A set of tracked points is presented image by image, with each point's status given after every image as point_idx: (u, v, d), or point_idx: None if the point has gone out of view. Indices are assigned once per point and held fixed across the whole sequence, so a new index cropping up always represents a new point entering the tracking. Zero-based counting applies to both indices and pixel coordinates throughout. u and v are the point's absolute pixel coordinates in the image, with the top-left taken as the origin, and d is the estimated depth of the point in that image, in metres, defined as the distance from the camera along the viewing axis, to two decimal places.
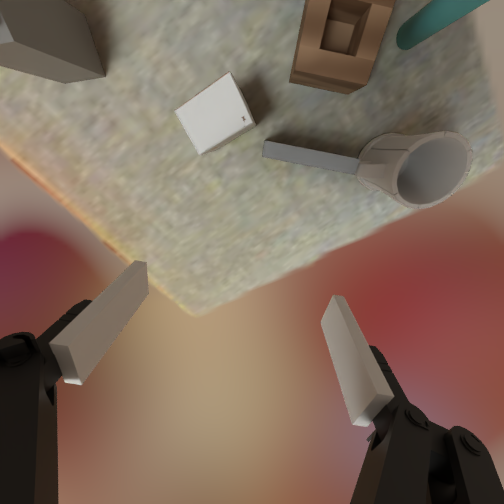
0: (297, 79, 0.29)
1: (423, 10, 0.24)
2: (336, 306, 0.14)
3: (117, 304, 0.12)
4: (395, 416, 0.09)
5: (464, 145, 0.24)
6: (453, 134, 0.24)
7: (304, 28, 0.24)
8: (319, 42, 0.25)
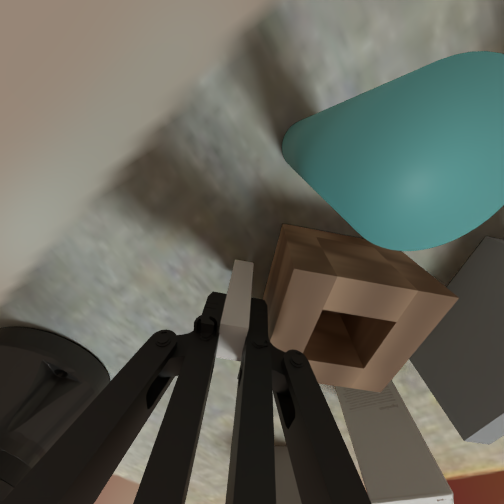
0: None
1: None
2: (242, 269, 0.16)
3: None
4: (245, 351, 0.10)
5: None
6: None
7: (332, 383, 0.15)
8: (355, 369, 0.14)
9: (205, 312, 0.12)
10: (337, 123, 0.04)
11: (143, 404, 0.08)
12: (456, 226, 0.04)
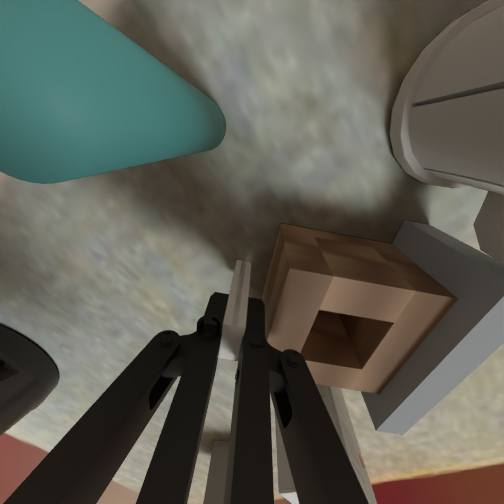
0: None
1: None
2: (240, 269, 0.16)
3: None
4: (242, 351, 0.10)
5: None
6: None
7: (330, 384, 0.15)
8: (353, 369, 0.14)
9: (207, 312, 0.12)
10: None
11: (146, 404, 0.08)
12: (75, 151, 0.04)
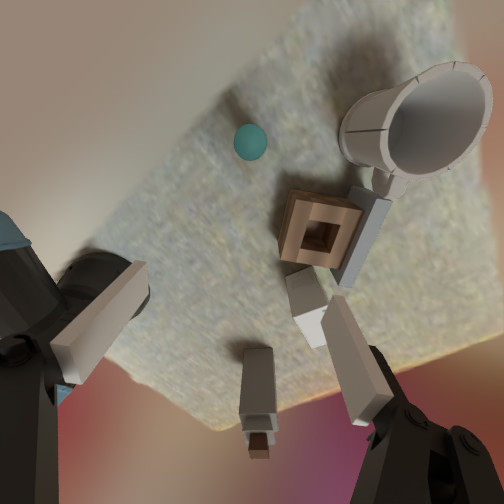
0: None
1: None
2: (336, 305, 0.14)
3: (117, 304, 0.12)
4: (395, 416, 0.09)
5: (407, 92, 0.17)
6: (388, 116, 0.18)
7: (315, 264, 0.31)
8: (326, 253, 0.31)
9: (54, 326, 0.10)
10: None
11: None
12: (258, 154, 0.20)
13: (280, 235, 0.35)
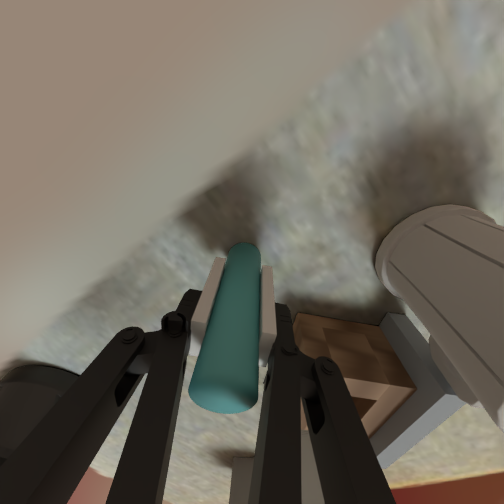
0: None
1: None
2: (262, 273, 0.16)
3: (216, 293, 0.14)
4: (274, 356, 0.10)
5: None
6: None
7: None
8: None
9: (179, 309, 0.12)
10: (199, 353, 0.10)
11: (113, 402, 0.08)
12: (241, 407, 0.10)
13: None
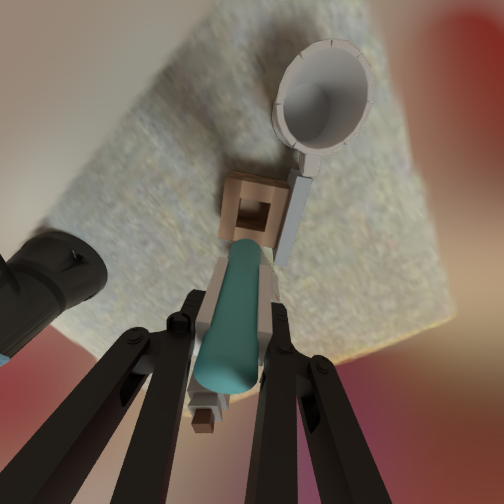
0: None
1: None
2: (259, 273, 0.16)
3: None
4: (270, 355, 0.10)
5: (294, 68, 0.19)
6: (280, 91, 0.19)
7: None
8: (260, 232, 0.32)
9: (183, 309, 0.12)
10: (203, 337, 0.11)
11: (117, 402, 0.08)
12: (242, 388, 0.10)
13: None
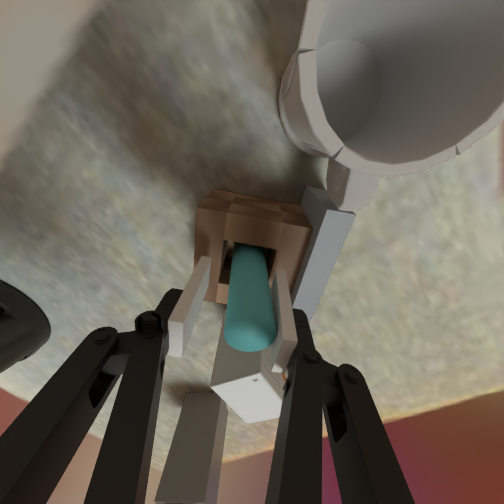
0: None
1: None
2: (276, 277, 0.16)
3: (199, 292, 0.14)
4: (296, 362, 0.10)
5: None
6: (312, 13, 0.07)
7: None
8: None
9: (158, 309, 0.12)
10: (228, 307, 0.13)
11: (87, 403, 0.08)
12: (263, 345, 0.13)
13: None
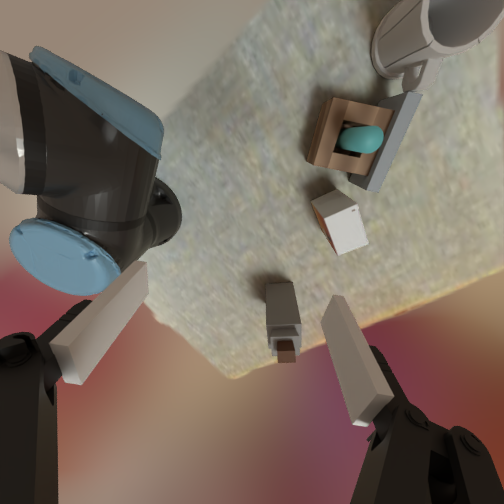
0: None
1: None
2: (336, 306, 0.14)
3: (117, 304, 0.12)
4: (395, 416, 0.09)
5: None
6: None
7: (345, 170, 0.34)
8: (356, 158, 0.33)
9: (54, 326, 0.10)
10: (356, 133, 0.27)
11: None
12: (374, 148, 0.26)
13: (311, 151, 0.38)
